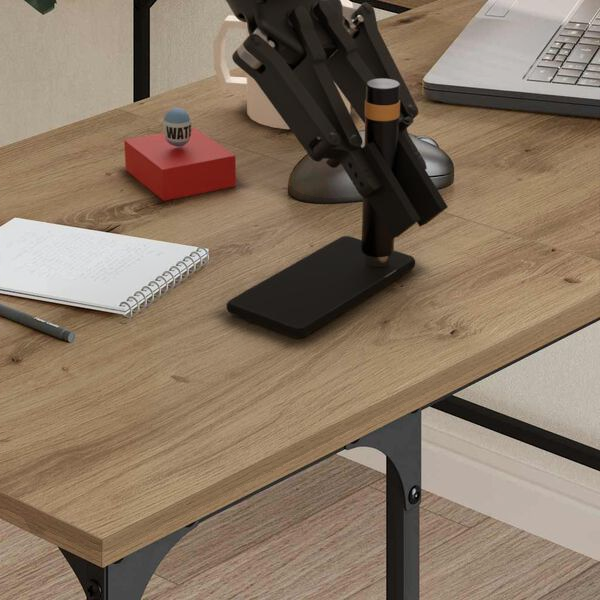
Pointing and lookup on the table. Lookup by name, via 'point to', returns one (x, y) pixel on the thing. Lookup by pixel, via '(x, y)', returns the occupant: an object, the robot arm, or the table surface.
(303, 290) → the smartphone
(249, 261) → the table surface
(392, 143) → the marker
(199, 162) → the red rectangular block
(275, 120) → the mug
